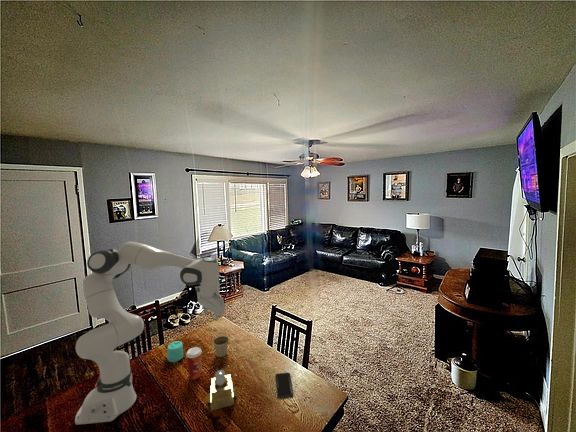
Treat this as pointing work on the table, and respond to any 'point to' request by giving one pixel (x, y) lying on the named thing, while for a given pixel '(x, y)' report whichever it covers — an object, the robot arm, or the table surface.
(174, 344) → the turquoise rounded container
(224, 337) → the flower pot
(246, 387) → the table surface
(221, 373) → the silver metal cylinder
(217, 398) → the valve body
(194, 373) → the paper cup
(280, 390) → the phone
